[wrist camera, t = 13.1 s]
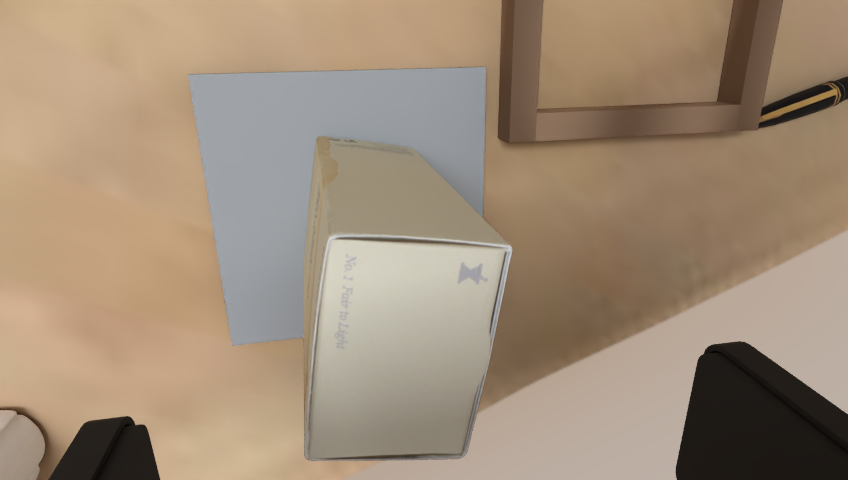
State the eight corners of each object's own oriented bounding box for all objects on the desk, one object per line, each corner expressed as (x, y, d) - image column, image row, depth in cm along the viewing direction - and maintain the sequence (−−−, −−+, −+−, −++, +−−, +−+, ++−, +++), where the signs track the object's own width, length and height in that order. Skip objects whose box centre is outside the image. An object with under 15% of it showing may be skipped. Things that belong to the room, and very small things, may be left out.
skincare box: (315, 133, 22) (319, 218, 11) (418, 146, 23) (520, 237, 12) (302, 272, 24) (294, 467, 13) (398, 278, 25) (469, 464, 14)
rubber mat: (482, 67, 23) (486, 67, 22) (477, 312, 27) (480, 317, 27) (190, 74, 21) (188, 74, 20) (233, 340, 25) (232, 345, 24)
